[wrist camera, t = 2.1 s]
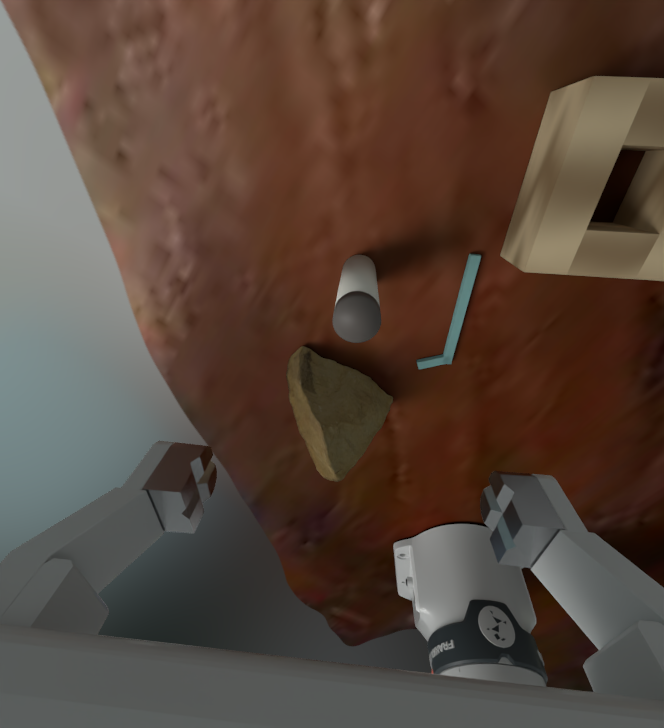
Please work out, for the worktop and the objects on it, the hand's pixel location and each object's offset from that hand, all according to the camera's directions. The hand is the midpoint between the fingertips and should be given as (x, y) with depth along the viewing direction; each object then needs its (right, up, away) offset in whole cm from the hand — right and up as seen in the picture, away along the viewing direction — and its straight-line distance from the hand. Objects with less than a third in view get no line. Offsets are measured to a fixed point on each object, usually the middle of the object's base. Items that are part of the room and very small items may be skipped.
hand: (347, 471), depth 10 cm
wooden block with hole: (+18, +16, +13) cm, 27 cm away
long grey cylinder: (+2, +11, +18) cm, 21 cm away
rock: (0, +2, +24) cm, 24 cm away
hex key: (+9, +7, +19) cm, 23 cm away
